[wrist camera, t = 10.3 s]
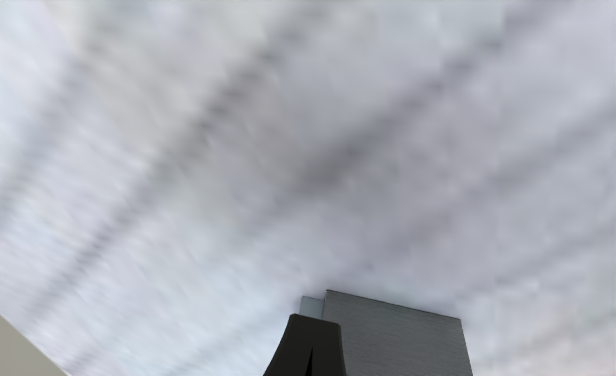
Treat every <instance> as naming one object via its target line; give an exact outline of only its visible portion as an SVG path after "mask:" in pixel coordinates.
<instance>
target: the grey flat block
mask: <svg viewBox="0 0 616 376" xmlns="http://www.w3.org/2000/svg"><path fill="white" fill-rule="evenodd" d="M321 320H326V321H330V322H334V323H338V324H339V325H340V326H341V336H342V347H343V355H344V362H345V368H346V374H347V376H473V374H472V369H471V365H470V361H469V356H468V352H467V347H466V343H465V338H464V334H463V329H462V325H461V321H460V320H459V319H455V318H450V317H446V316H441V315H437V314H433V313H428V312H424V311H419V310H415V309H410V308H406V307H401V306H397V305H392V304H388V303H384V302H379V301H375V300H370V299H366V298H361V297H357V296H352V295H348V294H344V293H339V292H335V291H330V290H327V292H326V295H325V299H324V304H323V311H322V318H321Z"/></svg>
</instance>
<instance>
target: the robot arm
mask: <svg viewBox="0 0 616 376" xmlns="http://www.w3.org/2000/svg"><path fill="white" fill-rule="evenodd" d="M263 376H347V374H346V368H345V362H344V355H343V347H342V336H341V326H340V325H339V324H338V323H334V322H330V321H326V320H321V319H317V318H312V317H308V316H304V315H299V314H295V313H294V314H292V315H290V317H289V320H288V324H287V327H286V329H285V332H284V334H283V337H282V339H281V341H280V344H279V346H278V348H277V350H276V352H275V354H274V356H273V358H272V360H271V362H270V364H269V366H268V367H267V369H266V371H265V373H264V375H263Z"/></svg>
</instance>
